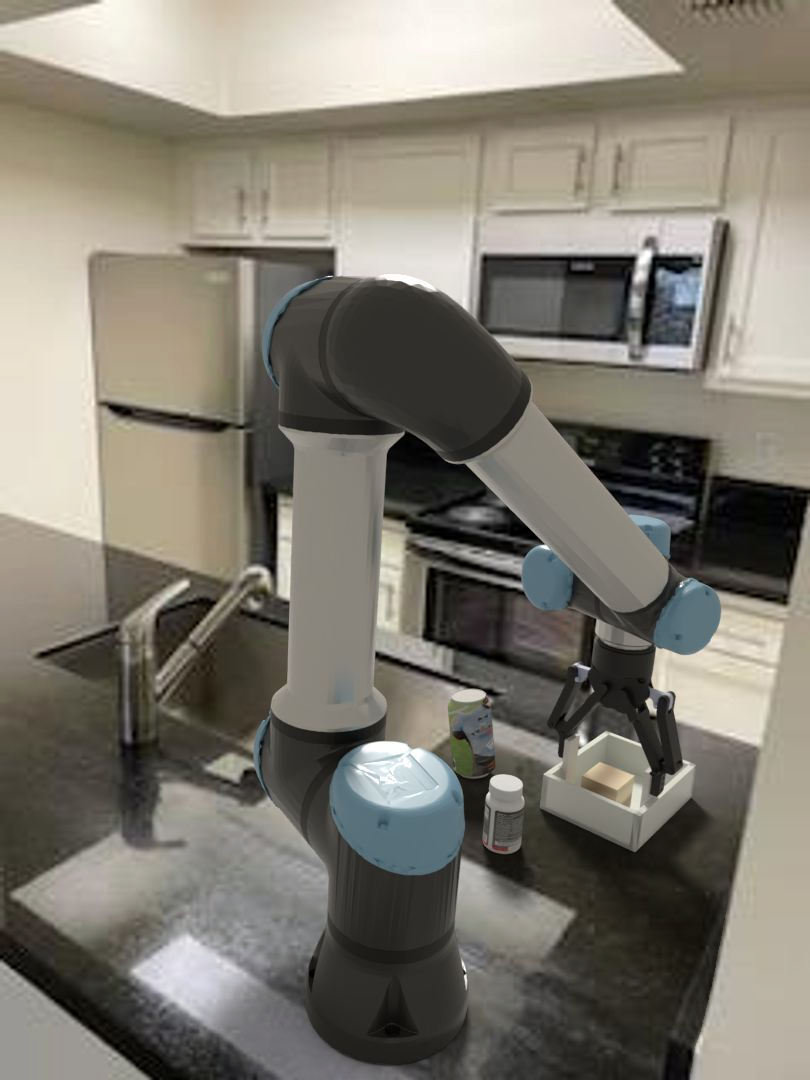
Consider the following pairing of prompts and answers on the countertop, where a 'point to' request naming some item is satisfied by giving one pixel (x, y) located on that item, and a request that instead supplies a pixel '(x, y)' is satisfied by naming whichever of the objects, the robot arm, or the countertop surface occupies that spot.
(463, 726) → the beverage can
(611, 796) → the cube
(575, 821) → the tote
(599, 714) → the countertop surface
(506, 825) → the pill bottle
